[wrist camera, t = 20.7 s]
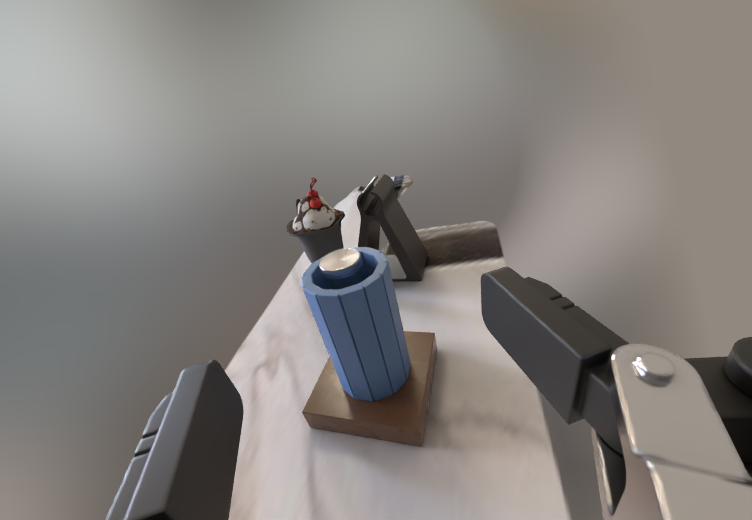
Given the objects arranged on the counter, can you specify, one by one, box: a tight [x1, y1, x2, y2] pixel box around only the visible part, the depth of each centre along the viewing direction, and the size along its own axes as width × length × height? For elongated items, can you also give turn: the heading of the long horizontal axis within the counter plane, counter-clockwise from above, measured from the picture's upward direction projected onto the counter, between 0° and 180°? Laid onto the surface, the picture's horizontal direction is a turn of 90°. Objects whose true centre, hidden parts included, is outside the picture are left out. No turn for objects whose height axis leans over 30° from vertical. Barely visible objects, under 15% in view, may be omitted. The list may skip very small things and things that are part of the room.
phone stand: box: [357, 175, 428, 281], centre depth 39 cm, size 9×6×12 cm, turn 74°
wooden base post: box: [302, 248, 437, 447], centre depth 23 cm, size 9×9×13 cm
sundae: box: [287, 178, 345, 264], centre depth 36 cm, size 7×7×15 cm
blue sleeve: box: [302, 247, 411, 401], centre depth 23 cm, size 6×6×10 cm
